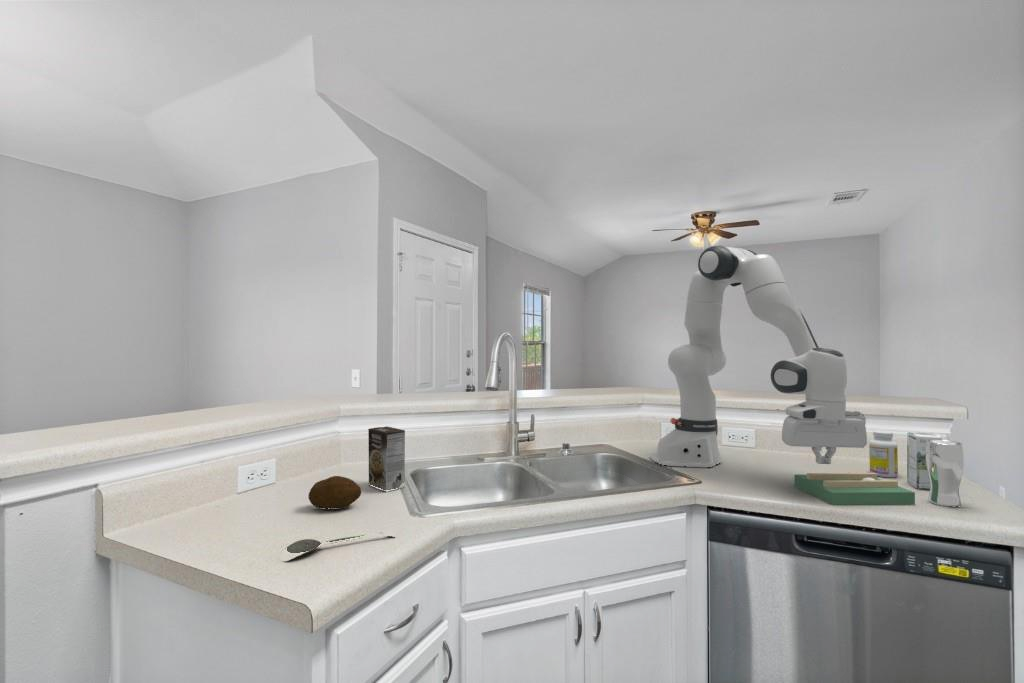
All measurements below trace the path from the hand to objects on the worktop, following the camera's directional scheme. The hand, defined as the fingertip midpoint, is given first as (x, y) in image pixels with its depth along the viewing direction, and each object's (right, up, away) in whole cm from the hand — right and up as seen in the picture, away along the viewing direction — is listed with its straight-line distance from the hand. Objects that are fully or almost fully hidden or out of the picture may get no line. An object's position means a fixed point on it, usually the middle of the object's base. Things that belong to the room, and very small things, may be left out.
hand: (823, 463), depth 126 cm
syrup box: (+31, -8, +5) cm, 32 cm away
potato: (-124, -9, -9) cm, 125 cm away
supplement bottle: (+29, -8, +17) cm, 35 cm away
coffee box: (-116, -9, +8) cm, 117 cm away
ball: (+11, -5, -1) cm, 13 cm away
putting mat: (+7, -8, -1) cm, 10 cm away
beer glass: (+25, -8, -8) cm, 27 cm away
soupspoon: (-115, -9, -31) cm, 120 cm away
